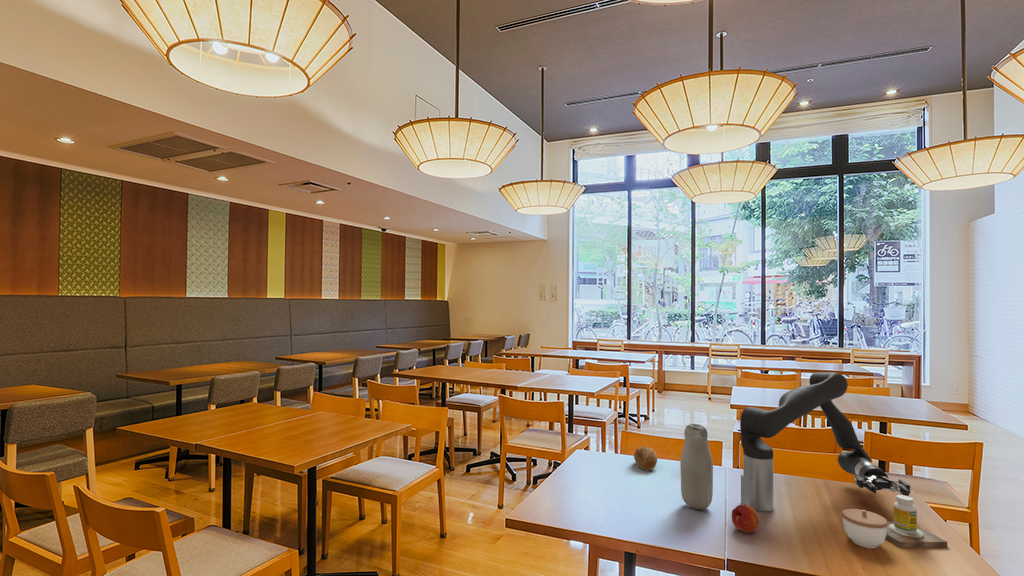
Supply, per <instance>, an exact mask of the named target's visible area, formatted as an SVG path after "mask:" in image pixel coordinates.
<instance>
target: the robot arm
mask: <svg viewBox="0 0 1024 576" xmlns="http://www.w3.org/2000/svg"><path fill="white" fill-rule="evenodd" d="M848 384H849V383H848V380H847V378H846V377H845V376H844V375H843V374H841V373H838V372H834V371H833V372H830V371H828V372H823V371H822V372H821V371H820V372H814V373H812V374H811V375H810V378H809V384H808V385H803V386H799V387H796V388H793V389H791V390H788V391H786V392H785V393H784V394H782V395H781V397H780V398H779V401H778V407H777V408H774V409H771V410H767V409H763V408H759V407H758V408H757V407H753V406H748V407H745V408H744V409H743V411H742V412H741V415H740V418H739V419H740V420H739V424H740V426H739V428H740V429H739V430H740V442H741V443H740V444H741V448H742V449H743V457H742V458H743V460H742V461H743V463H742V465H743V466H742V467H743V469H742V470H743V471H742V473H743V474H741V475H740V503H741V504H745V505H748V506H750V507H752V508H753V509H754V510H755V511H759V512H771V511H773V510H774V451H773V448H772V447H771V446H769V445H768V444H767V443H766V442H765V441H764V440H763V439H762V438H764V439H770V438H773V437H775V436H777V434H779V433H780V432H782V431H783V430H784V429H785V428H786V427H788V426H789V425H790V424H791V423H793V422H795V421H797V420H798V419H800V418H802V417H804V416H806V415H807V414H809V413H811V412H813V411H814V410H815V409H817V408H819V407H820V409H821V411H822V412H823V414H824V416H825V417H826V419H827V421H828V423H829V425H830V428H831V431H832V433H833V436H834V439H835V441H836V444H837V445H838V446H839V448H841V449H845V450H846V449H847V450H850V451H846V452H841V453H839V454H838V455H837V463H838V465H839V467H840V468H841V469H842V470H843V471H845V472H846V473H847V474H851V475H854V483H855V484H856V486H858V488H859V489H864V488H865V490H868V491H870V492H871V493H872V494H876V493H877V491H882V490H888V491H890V492H894V493H895V492H897V493H900V495H904V496H908V497H910V494H911V485H910V484H909V483H908V482H906V481H904V480H903V479H897V480H894V479H891V478H889V476H888V474H887V472H885V470H882V469H881V467H879V466H878V465H876V464H875V463H873V462H872V459H871V457H870V455H869V454H868V453H867V452H866V450H865V449H864V448H863V447H862V445H861V443H860V442H859V439H858V437H857V433H856V431H855V428H854V426H853V424H852V422H851V421H850V420H849V419H848V417H847V416H846V415H845V414H844V413H843V412H842V411H840V410H839V408H838V407H837V406H836V405H835V404H834V402H833V400H835V399H838V398H841V397H842V396H844V395H845V394H846V392H847V390H848V386H849V385H848Z"/></svg>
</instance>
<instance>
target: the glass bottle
mask: <svg viewBox="0 0 1024 576" xmlns="http://www.w3.org/2000/svg"><path fill="white" fill-rule="evenodd" d="M683 435H684V443H683V447H682V451H681V455H680V460H679V461H680V463H679V464H680V465H679V467H680V494H681V498H682V500H683V502H684V503H685V504H686V505H687V506H688V507H690V508H692V509H695V510H699V509H700V510H705V509H708V508H709V507H710V506H711V504H712V501H713V495H714V493H713V491H714V488H713V487H714V484H713V482H714V480H713V479H714V462H713V461H714V460H713V456H712V453H711V450H710V446H709V440H708V437H709V436H708V435H709V434H708V430H707V428H706V427H705V426H704V425H701V424H698V423H689V424H688V425H686V427H685V429H684V434H683ZM700 510H699V511H700Z"/></svg>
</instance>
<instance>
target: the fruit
mask: <svg viewBox="0 0 1024 576" xmlns="http://www.w3.org/2000/svg"><path fill="white" fill-rule="evenodd" d="M731 522H732V524H733V526H734V527H735V528H736V529H737V530H739V531H741V532H744V533H747V534H748V533H749V534H750V533H754V532H755V531H757V529H758V528H759V525H760V522H761V520H760V516H759V513H758V512H757V510H754V509H753V508H752V507H750V506H748V505H745V504H743V503H741V504H739V505H736V506H735V507H734V508H733V509H732V510H731Z"/></svg>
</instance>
